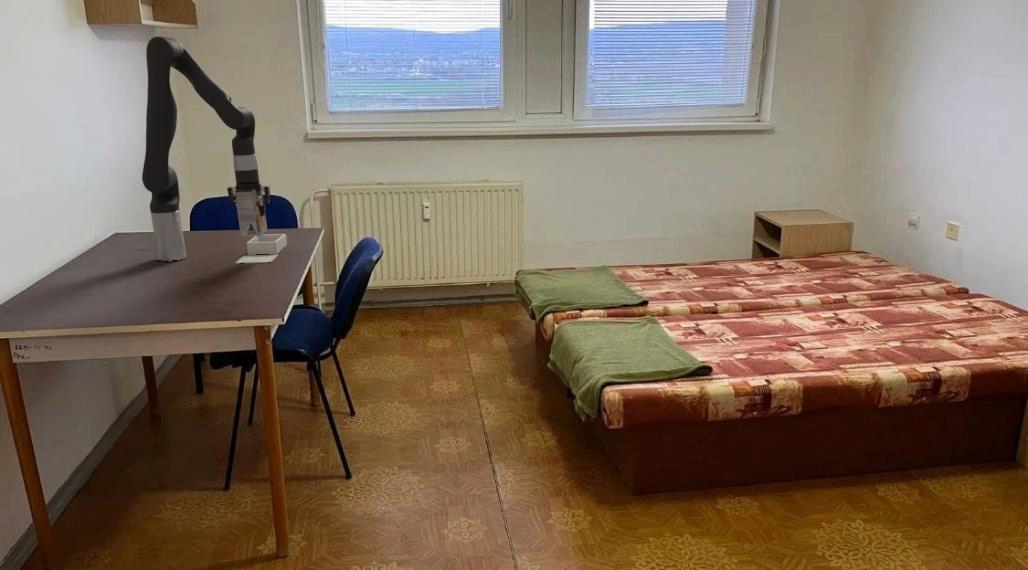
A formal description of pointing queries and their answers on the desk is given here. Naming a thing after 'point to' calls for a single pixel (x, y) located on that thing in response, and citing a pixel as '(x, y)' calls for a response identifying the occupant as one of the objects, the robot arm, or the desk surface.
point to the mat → (256, 259)
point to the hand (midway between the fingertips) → (252, 216)
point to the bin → (266, 244)
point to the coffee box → (250, 213)
